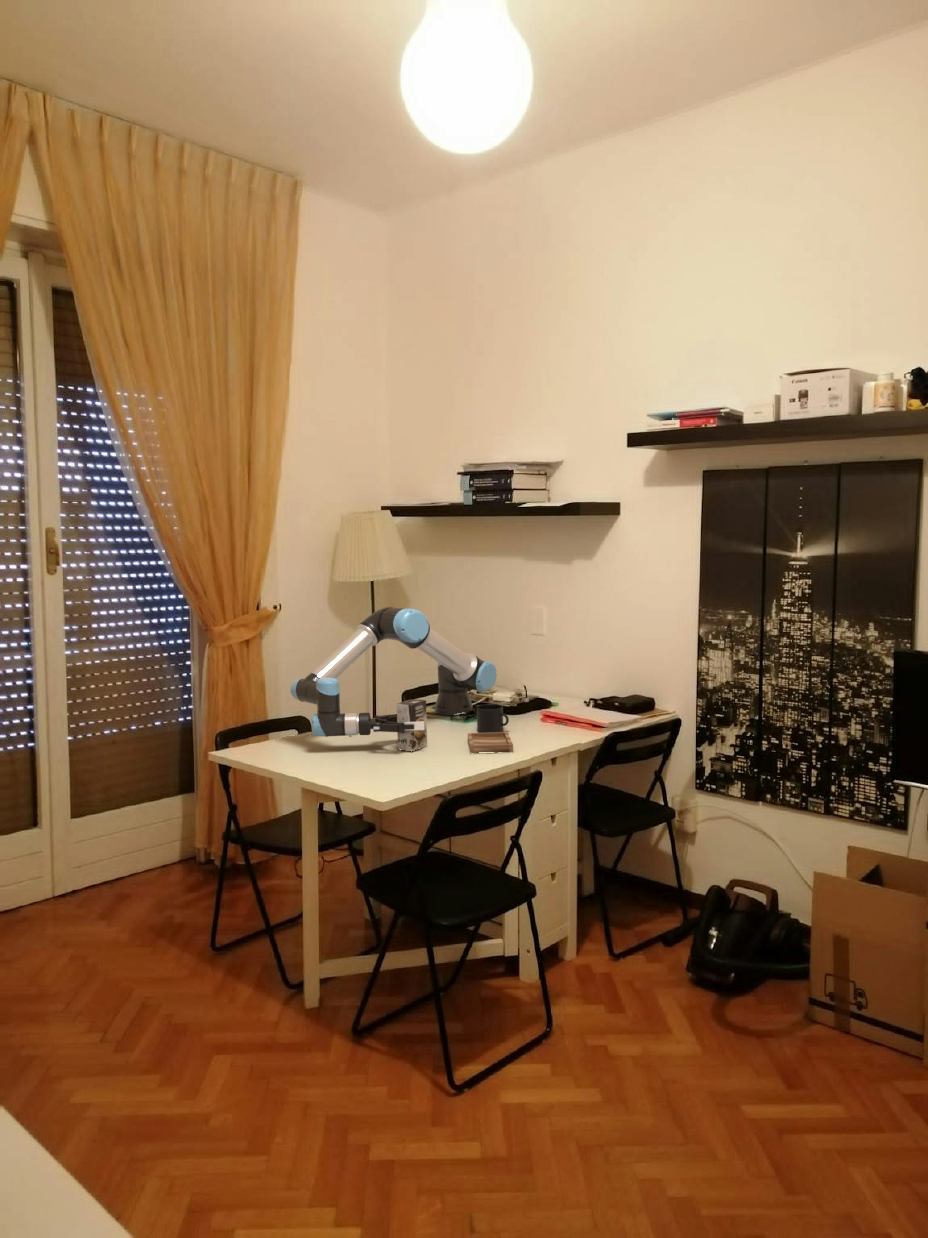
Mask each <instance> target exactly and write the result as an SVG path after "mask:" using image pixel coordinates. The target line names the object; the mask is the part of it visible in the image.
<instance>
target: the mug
mask: <svg viewBox="0 0 928 1238" xmlns="http://www.w3.org/2000/svg"><path fill="white" fill-rule="evenodd" d="M504 718H505V722H504ZM509 721H510V720H509V716H508V715H507V714H506V713H504V707H503V705H501V704H495V703H489V704H487V703H486V704H485V703H484V704H481V705H477V706H476V728H477V733H490V732H504V727H505V726H508V724H509Z"/></svg>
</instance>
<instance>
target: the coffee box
mask: <svg viewBox="0 0 928 1238" xmlns="http://www.w3.org/2000/svg"><path fill="white" fill-rule="evenodd" d="M396 714H397V722H398V723H404V724H405V722H422V721H424V730H409V731H405V733H402V732H401V733H400V732H396V733H397V750H398V749H401V750H407V751H411V752H410V753H413V752H412V751H414V752H416V751H415V750H417V749H419V748H422V749H424V748H426V747H425V746H427V747H428V730H427V729H428V727H427V725H428V723H427V720H428V719H427V716H428V715H427V700H426V699H414V698H413V699H408V700H404V701H400V702H398V703H396ZM423 747H424V748H423ZM401 750H400V751H401ZM419 750H420V749H419ZM407 751H406V752H407ZM417 751H418V750H417Z"/></svg>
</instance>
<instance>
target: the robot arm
mask: <svg viewBox="0 0 928 1238" xmlns="http://www.w3.org/2000/svg"><path fill="white" fill-rule="evenodd" d="M383 640H384V641H385V640H394V641H397V642H400V643H402V644H403V645H404V646H406V647H408V648H409V649H412V650H414V649H418V650H420V651H421V652H422V653H424V654H425V655H427V656H428V657H429V658H431V659H433V660H434V661H436V662H437V678H438V679H437V680H438V681H437V684H438V695H437V699H436V701H435V705H434V713H435V712H436V713H437V715H439V716H447V715H454V714H457V713H462V712H469V711H472V708H473V703H472V700H471V698H470V695H469V690H471V691H477V692H481V693H482V692H488V691H490V690H491V689H492V688H493V687H494V685H495V683H496V680H497V675H498V674H497V668H496V665H495V663H493V662H491V661H488V660H483V659H481V658H479V656H477V655H475V654H474V653H472V652H467V653H465V651H462V650H461V648H459V647H457V646H455V644H453V643H451V642H450V641H448V640H447V639H446V638H444V637H443V636H441V635H440V634H439V633H437V632H436V631H434V630H433V629H432V628H431V624H430V622H429V621H428V618H427V616H426V615H425V614H424V612H422V611H421V610H418V609H415V608H401V607H393V606H387V607H382V608H380V609H377V610H376V611H374V612H373V613H372V614H370V615H369V616H367V617H366V618H365V619H363V620H362V621H361V622H360V623H359V624H358V625H357V627H356V631H355V632H354V633H353V634H351V636H350V637H348V638H347V639H346V640H345V641H343V643H342V644H341V645H339V647H337V648H336V649H335V650H334V651H333V652H332V653H330V655H328V657H327V658H326V659H325V660H323V661H322V662H321V663H320V664H319V665H317V667H316V668H315V669H314V670H313V671H312V672H310V673H309V674H308V675H307V676H305V678H297V679H295V680H294V681H293V682H292V683H291V686H290V694H291V696H292V698H293V699H295V700H297V701H300V702H303V703H308V704H313V705H316V707H317V708H316V709H317V711H316V712H317V713H315V714H312V716H311V733H312V734H313V736H314V737H325V738H328V737H341V736H342V737H343V736H344V737H345V736H348V737H349V738H352V737H353V736H358V734H359V735H360V736H369V735H371V730H373V732H375V733H378V732H382V733H383V732H384V733H397V732H400V733H401V732H402V733H405V731H409V730H424V721H422V722H405V724H404V723H398V722H397V713H393V714H384V715H374V717H373V718H371V713H370V712H359V713H358V712H345V713H342V712H341V700H340V692H341V689H340V682H339V680H338V679H337V678H338V677H339V676H340V675H342V674H343V673H344V672H345V671H346V670H347V669H348V668H349V667H350V666H351V665H352V664H354V663H355V661H356V660H357V659H359V658H360V657H361V656H362V655H363V654H364V653H365V652H366V651H367V650H368V649H369V648H370V647H372V646H373V647H376V645H378V644H379V643H380V642H382V641H383ZM436 713H435V714H436Z"/></svg>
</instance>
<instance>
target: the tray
mask: <svg viewBox="0 0 928 1238" xmlns="http://www.w3.org/2000/svg"><path fill="white" fill-rule="evenodd" d="M467 743H468V748H470V749H469V752H471V753H479V752H513V753H514V744H513V741H512V739H511V736H510V734H509V732H508V731H503V732H490V733H479V732H469V733H467ZM471 753H470V754H471Z"/></svg>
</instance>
